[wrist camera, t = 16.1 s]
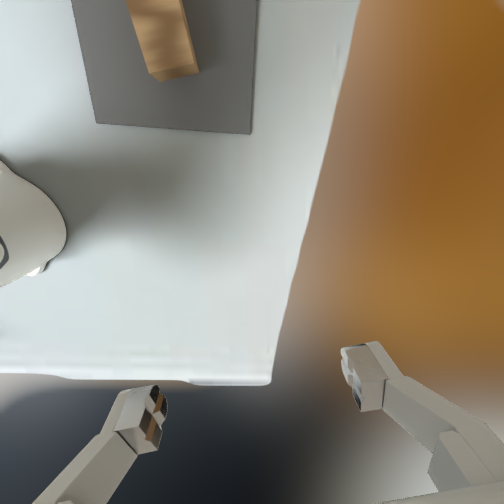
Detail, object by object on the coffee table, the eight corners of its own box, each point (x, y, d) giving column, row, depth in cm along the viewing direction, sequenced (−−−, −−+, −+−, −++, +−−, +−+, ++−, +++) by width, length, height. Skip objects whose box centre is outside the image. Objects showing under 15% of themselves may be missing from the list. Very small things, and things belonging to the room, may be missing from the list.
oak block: (132, -8, 25) (160, 81, 28) (114, -33, 21) (148, 73, 24) (177, -19, 24) (199, 72, 28) (167, -46, 21) (194, 62, 24)
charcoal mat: (98, 123, 30) (96, 123, 30) (55, -89, 22) (51, -94, 22) (249, 134, 32) (249, 134, 31) (259, -59, 24) (260, -62, 23)
